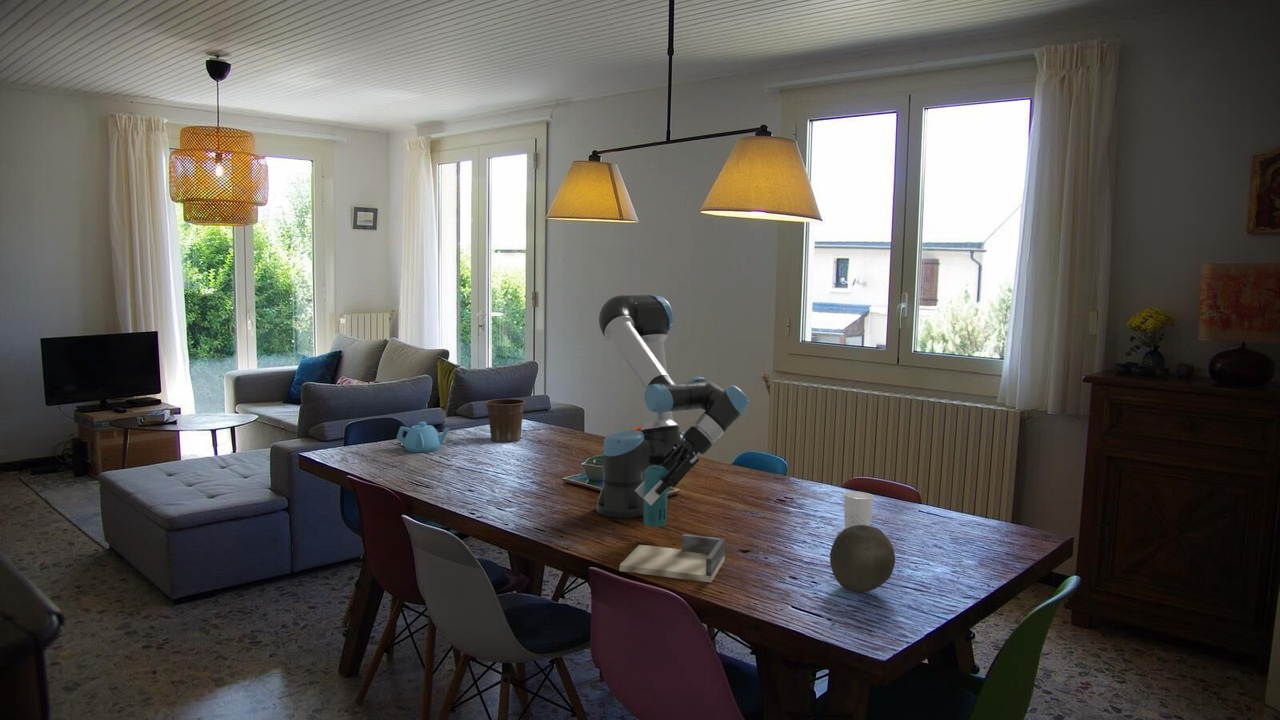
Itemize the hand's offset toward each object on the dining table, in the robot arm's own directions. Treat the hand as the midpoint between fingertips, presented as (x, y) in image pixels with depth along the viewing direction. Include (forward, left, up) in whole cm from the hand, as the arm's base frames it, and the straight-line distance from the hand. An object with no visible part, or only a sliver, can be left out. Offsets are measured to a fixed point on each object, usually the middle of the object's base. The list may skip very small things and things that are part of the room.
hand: (642, 498), depth 223 cm
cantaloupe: (+57, -18, -12) cm, 60 cm away
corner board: (+13, -16, -11) cm, 23 cm away
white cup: (+54, +30, -12) cm, 63 cm away
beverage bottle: (+3, +2, -9) cm, 9 cm away
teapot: (-112, +78, -12) cm, 137 cm away
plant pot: (-91, +107, -12) cm, 141 cm away
